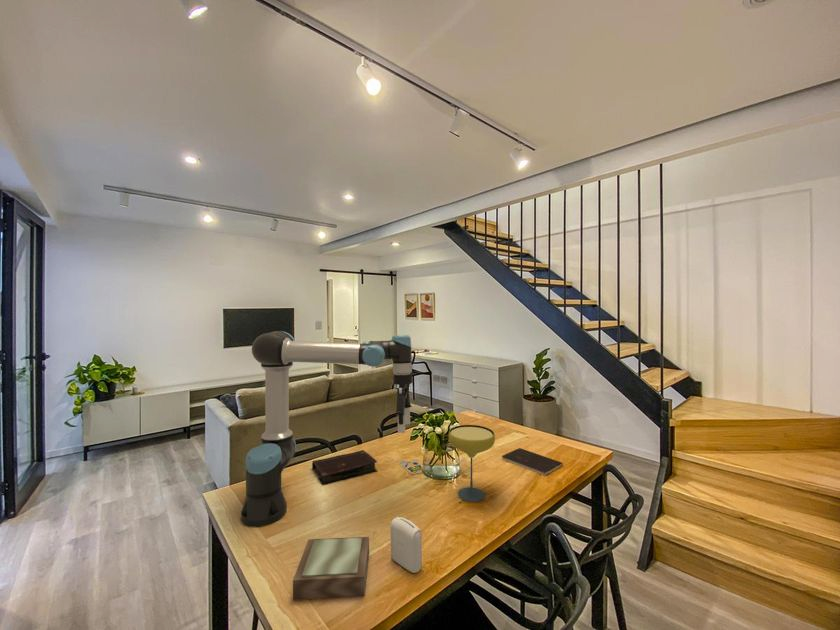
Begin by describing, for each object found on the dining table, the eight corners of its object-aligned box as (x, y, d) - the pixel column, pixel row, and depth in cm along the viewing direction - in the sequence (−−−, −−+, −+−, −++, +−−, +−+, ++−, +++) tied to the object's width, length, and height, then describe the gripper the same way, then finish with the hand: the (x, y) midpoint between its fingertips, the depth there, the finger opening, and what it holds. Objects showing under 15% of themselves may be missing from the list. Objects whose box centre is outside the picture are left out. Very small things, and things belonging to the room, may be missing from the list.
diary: (312, 470, 164) (311, 459, 164) (363, 458, 177) (363, 448, 177) (323, 487, 148) (322, 475, 148) (378, 473, 160) (378, 462, 160)
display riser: (293, 599, 90) (292, 578, 90) (308, 555, 106) (308, 538, 106) (364, 595, 92) (364, 575, 91) (369, 553, 107) (369, 535, 107)
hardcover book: (544, 477, 156) (544, 472, 156) (501, 460, 174) (501, 455, 174) (562, 467, 167) (562, 462, 167) (520, 451, 184) (520, 447, 184)
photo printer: (388, 558, 105) (388, 517, 105) (399, 551, 108) (399, 511, 108) (413, 576, 98) (413, 532, 98) (424, 568, 101) (424, 525, 101)
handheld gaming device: (413, 457, 175) (428, 469, 162) (413, 459, 175) (428, 471, 162) (397, 461, 171) (411, 474, 158) (397, 463, 171) (411, 475, 158)
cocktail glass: (502, 504, 134) (502, 438, 134) (456, 510, 130) (456, 442, 130) (483, 481, 152) (484, 423, 151) (443, 486, 148) (443, 426, 147)
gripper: (407, 376, 129) (409, 436, 128) (415, 370, 154) (417, 420, 152) (387, 377, 130) (388, 436, 128) (398, 371, 155) (400, 420, 153)
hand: (404, 428), depth 140 cm, fingers open, 13 cm apart
